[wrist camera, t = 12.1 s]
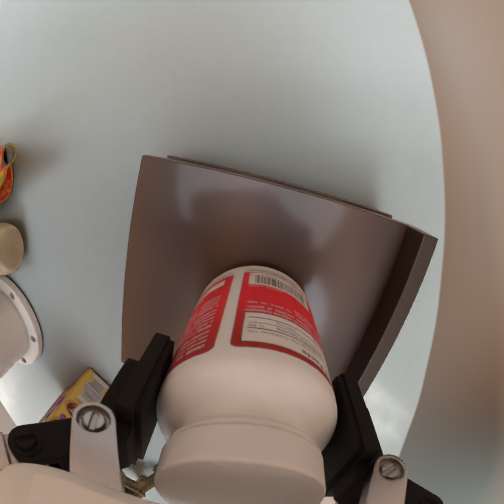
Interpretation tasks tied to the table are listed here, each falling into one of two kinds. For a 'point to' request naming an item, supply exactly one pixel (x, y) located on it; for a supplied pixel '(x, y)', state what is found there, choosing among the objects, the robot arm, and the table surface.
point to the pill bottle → (246, 397)
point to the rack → (268, 257)
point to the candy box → (77, 396)
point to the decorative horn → (10, 249)
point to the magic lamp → (6, 170)
